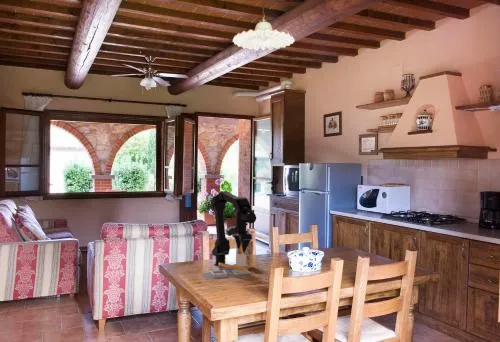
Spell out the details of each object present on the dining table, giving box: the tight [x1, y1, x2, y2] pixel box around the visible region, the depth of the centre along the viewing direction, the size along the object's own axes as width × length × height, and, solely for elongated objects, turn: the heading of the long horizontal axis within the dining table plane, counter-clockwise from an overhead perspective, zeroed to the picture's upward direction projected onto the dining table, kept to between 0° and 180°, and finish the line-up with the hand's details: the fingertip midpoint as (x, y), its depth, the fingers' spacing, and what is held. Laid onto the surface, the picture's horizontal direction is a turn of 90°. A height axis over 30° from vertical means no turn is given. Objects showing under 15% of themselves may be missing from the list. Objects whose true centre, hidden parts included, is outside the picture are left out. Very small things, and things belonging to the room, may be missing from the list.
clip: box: [218, 263, 248, 271], centre depth 226 cm, size 19×2×1 cm, turn 52°
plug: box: [232, 254, 251, 273], centre depth 231 cm, size 7×7×9 cm
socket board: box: [199, 266, 255, 281], centre depth 226 cm, size 13×26×4 cm, turn 109°
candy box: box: [235, 239, 254, 268], centre depth 246 cm, size 9×4×15 cm, turn 110°
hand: (241, 250), depth 231 cm, fingers open, 9 cm apart
